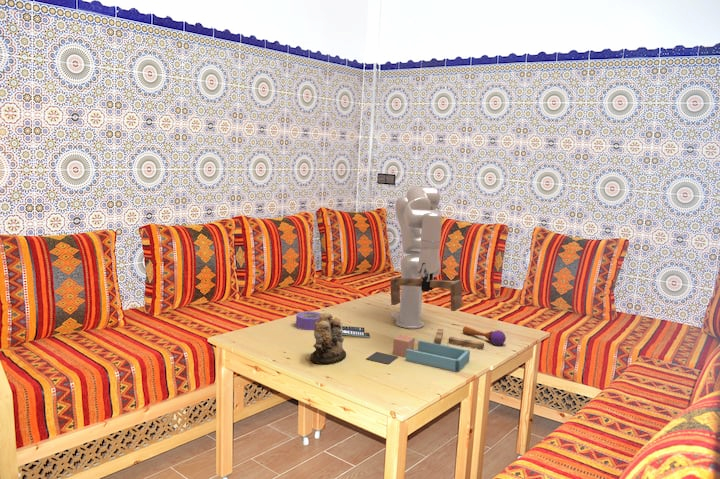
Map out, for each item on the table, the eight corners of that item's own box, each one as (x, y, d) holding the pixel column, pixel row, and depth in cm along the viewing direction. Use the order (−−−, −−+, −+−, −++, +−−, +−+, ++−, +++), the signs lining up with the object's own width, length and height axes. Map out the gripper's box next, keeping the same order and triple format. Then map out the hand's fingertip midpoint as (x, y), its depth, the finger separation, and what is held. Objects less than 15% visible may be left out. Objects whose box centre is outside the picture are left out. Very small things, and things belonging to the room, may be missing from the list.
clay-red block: (392, 354, 219) (393, 339, 218) (399, 349, 225) (400, 334, 224) (407, 357, 217) (408, 342, 216) (413, 352, 222) (414, 337, 221)
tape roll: (323, 322, 255) (324, 311, 254) (322, 330, 243) (323, 319, 243) (296, 321, 254) (297, 310, 254) (294, 329, 243) (295, 318, 242)
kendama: (470, 323, 252) (509, 332, 237) (468, 337, 252) (507, 346, 237) (461, 323, 248) (501, 331, 233) (459, 336, 248) (499, 346, 233)
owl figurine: (331, 368, 201) (333, 321, 199) (301, 362, 206) (302, 316, 203) (352, 353, 218) (354, 309, 215) (324, 348, 222) (325, 305, 220)
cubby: (405, 360, 213) (406, 349, 213) (418, 350, 225) (419, 340, 224) (458, 372, 204) (459, 361, 204) (469, 360, 216) (470, 350, 215)
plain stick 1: (440, 345, 233) (440, 339, 233) (434, 344, 234) (434, 338, 233) (442, 335, 247) (443, 329, 246) (437, 334, 247) (437, 328, 247)
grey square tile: (365, 359, 212) (366, 358, 212) (376, 352, 220) (376, 351, 220) (388, 364, 208) (388, 363, 208) (398, 357, 216) (398, 356, 216)
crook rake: (389, 305, 231) (388, 279, 230) (398, 301, 238) (397, 276, 237) (454, 311, 218) (454, 283, 216) (462, 306, 224) (461, 280, 223)
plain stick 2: (448, 344, 235) (448, 338, 235) (450, 342, 237) (450, 336, 237) (482, 350, 229) (482, 344, 229) (483, 348, 232) (484, 342, 231)
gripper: (429, 240, 233) (426, 285, 236) (412, 245, 219) (409, 292, 222) (446, 243, 229) (443, 288, 232) (431, 248, 215) (427, 296, 218)
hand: (426, 290), depth 227 cm, fingers closed on crook rake, 2 cm apart
